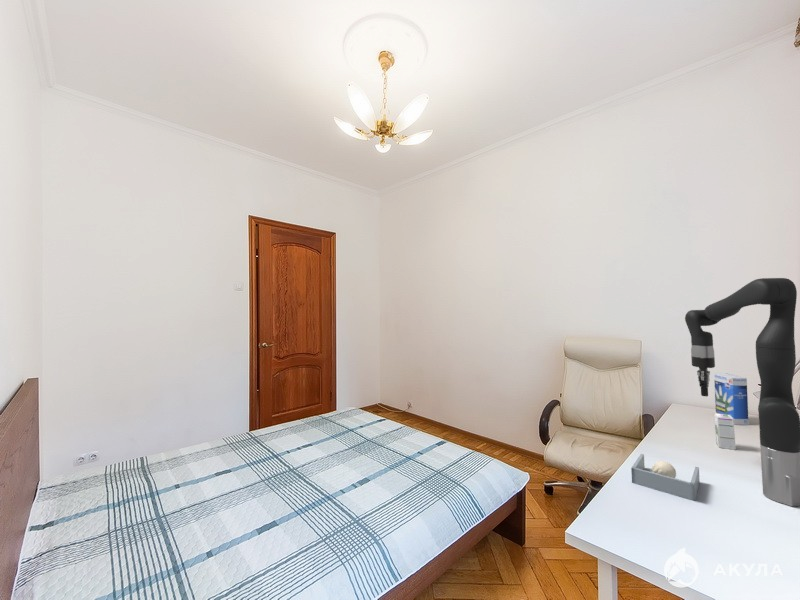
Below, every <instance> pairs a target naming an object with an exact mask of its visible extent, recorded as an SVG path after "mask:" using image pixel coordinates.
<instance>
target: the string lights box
mask: <svg viewBox="0 0 800 600" xmlns="http://www.w3.org/2000/svg"><path fill="white" fill-rule="evenodd" d="M713 376H714V403H715V414H727V415H730V416H731V417H732V418H733V421H734V426H735V425H736V426H749V399H748V398H749V397H748V379H747V377H742V376H739V375H735V374H730V373H724V372H722V373H721V372H717V373H716V372H714V374H713Z"/></svg>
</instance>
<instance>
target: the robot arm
mask: <svg viewBox="0 0 800 600" xmlns="http://www.w3.org/2000/svg"><path fill="white" fill-rule="evenodd" d="M797 296H798V293H797V287H796V284H795V283H794V281H792V280H791V279H789V278H786V277H768V278H767V277H764V278H756V279H754V280H752V281H750V282H748V283H747V284H745V285H744V286H742V287H741V288H739V289H737V290H735V292H733V293H731V294H730V295H728V296H727V297H725V298H722V299H720V300H718V301H715V302H713V303H711V304H709V305H707V306H706V307H705V308H704V309H691V310H688V311H687V312H686V314H685V316H684V321H685V324H686V326H687V330H688V332H689V334H690V337H691V339H690V341H691V342H690V343H691V347H690V353H691V354H690V355H691V356H690V357H691V366H692V367H694V368H698V370H697V371H696V375H697V379H698V380H697V381H698V383H699V385H698V386H699V387H700V396H702V397H706V398H707V397H708V396H709V384H710V375H711V371H710V370H708V369H713V368H715V367H716V362H715V361H716V360H715V359H716V358H715V349H714V340H713V339H714V338H713V333H711V332H710V331H704V330H703V329H702V327H710V326H714V325H716V324H718V323H719V322H721V320H725V319H727V318H729V317H733V316H734V315H736V314H738V313H740V311H741V309H743V308H745V307H749V306H755V305H763V306H764V305H766V306H767V305H769V317H768V319H767V320H768V321H767V322H766V323H765V326H763V328H762V329H761V331H760V332H759V334H758V336H757V338H756V341H755V358H756V367H757V371H758V374H759V379H760V392H759V393H760V394H759V402H758V406H757V407H758V408H757V411H758V424H759V425H758V426H759V444H760V445H759V447H760V462H761V463H760V464H761V466H760V467H761V481H762V482H761V483H762V495H764V496H765V498H768V499H770V500H772V501H774V502H778V503H780V504H784V505H788V506H790V507H792V506H793V507H800V415H799V413H798V410H797V408H796V406H795V405H796V404H795V400H794V396H793V395H794V394H793V388H792V387H793V381H794V375H795V371H796V370H795V369H796V361H797V358H796V354H797V353H796V343H795V340H796V339H795V317H796V308H797V307H796V306H797Z"/></svg>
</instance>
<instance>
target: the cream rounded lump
mask: <svg viewBox="0 0 800 600" xmlns="http://www.w3.org/2000/svg"><path fill="white" fill-rule="evenodd" d="M651 469H652V472H653V473H657V474H660V475H664V476H668V477H672V478H675V479H676V476H677V471H676V469H675V467H674V466H673V465H672V463H669V462H667V461H664V460H663V461H662V460H659V461H655V462H654V463H653V466H652V468H651Z"/></svg>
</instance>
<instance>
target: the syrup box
mask: <svg viewBox="0 0 800 600" xmlns="http://www.w3.org/2000/svg"><path fill="white" fill-rule="evenodd" d="M713 415H714V427H715V428H714V429H715V441H716V445H717V446H718V447H719V448H720V449H724V450H732V451H733V450H734V451H736V437H735V435H736V434H735V425H734V421H733V418H732V417H731V416H730V415H727V414H716V413H714V414H713Z"/></svg>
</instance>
